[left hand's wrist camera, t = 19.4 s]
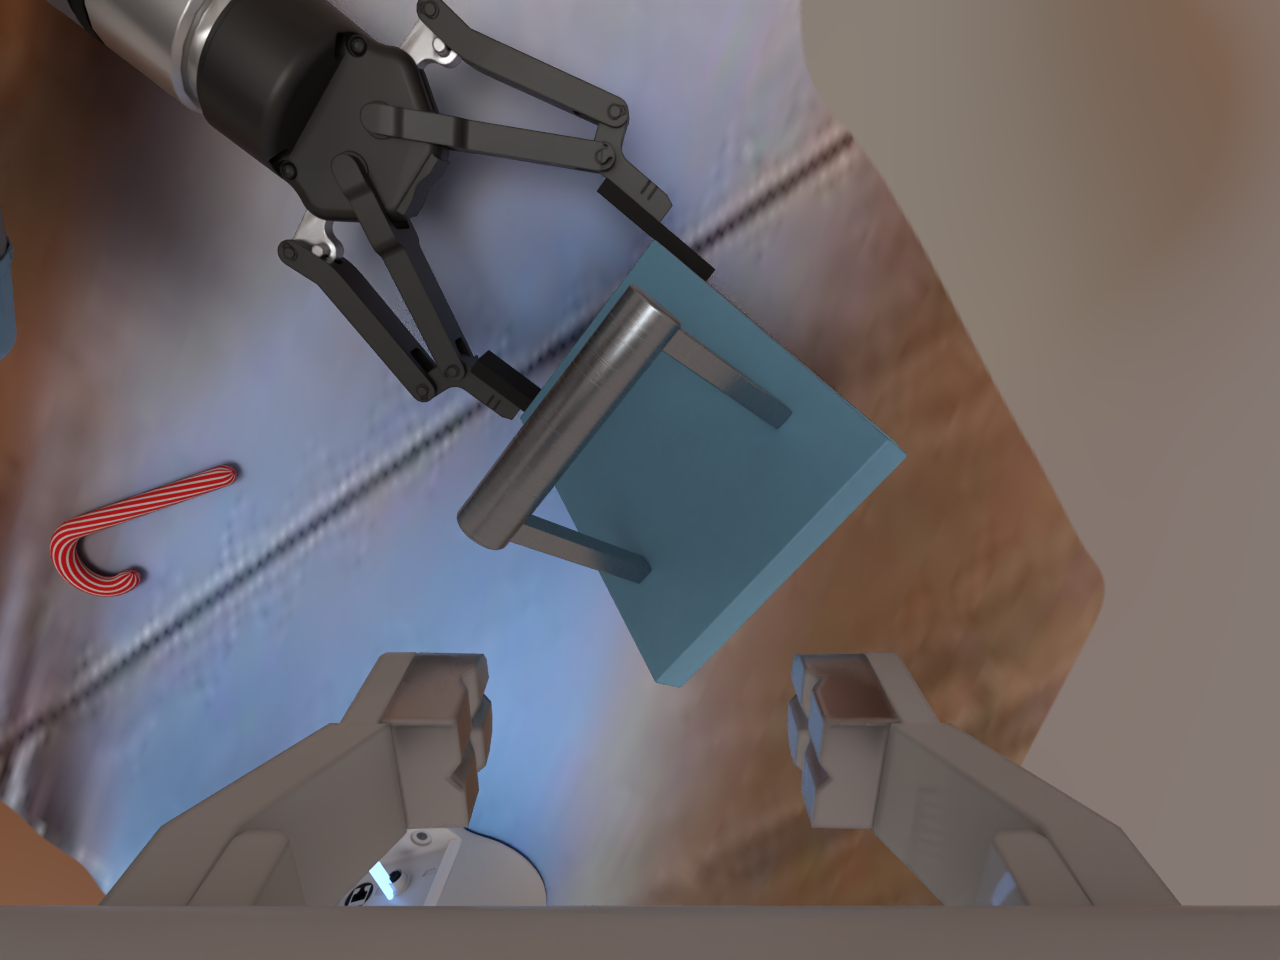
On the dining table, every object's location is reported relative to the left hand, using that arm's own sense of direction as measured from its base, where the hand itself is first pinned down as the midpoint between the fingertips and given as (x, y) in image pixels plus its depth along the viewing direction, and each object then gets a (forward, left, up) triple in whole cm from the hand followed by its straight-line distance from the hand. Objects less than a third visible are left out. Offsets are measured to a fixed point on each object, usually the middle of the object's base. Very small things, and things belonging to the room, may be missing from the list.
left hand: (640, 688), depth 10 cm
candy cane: (-35, -6, -34) cm, 49 cm away
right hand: (0, 0, -27) cm, 27 cm away
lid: (+1, -1, -16) cm, 16 cm away
